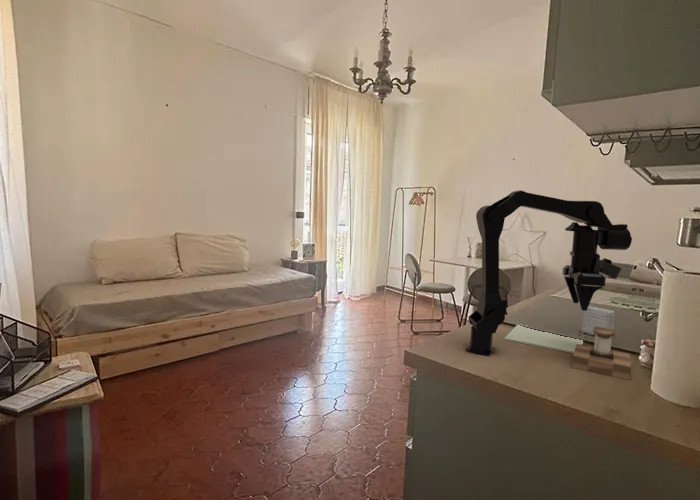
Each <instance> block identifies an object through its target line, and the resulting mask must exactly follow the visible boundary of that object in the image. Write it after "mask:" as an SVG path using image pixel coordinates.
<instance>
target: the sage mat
mask: <svg viewBox="0 0 700 500" xmlns="http://www.w3.org/2000/svg"><path fill="white" fill-rule="evenodd" d="M520 325H521V324H520ZM520 325H518V324H516V325H515V327H514V328H513V329H512V330H510V332H509V333H507V335H506V336H505V337H504V338H503V340H504V341H510V342H515V343H519V344H524V345H525V344H526V345H530V346H536V347H540V348H546V349H552V350H557V351H560V352H567V353H570V354H571V353H572V354H574V351H575V348H576V344H580V345H584V342H583V340H579V339H574V338H570V337H564V336H560V335H556V334H552V333H548V332H542V331H538V330H534V329H530V328H526V327H523V326H520Z"/></svg>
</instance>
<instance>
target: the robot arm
mask: <svg viewBox="0 0 700 500" xmlns="http://www.w3.org/2000/svg"><path fill="white" fill-rule="evenodd" d="M521 207H523V208H528V209H532V210H537V211H543V212H548V213H552V214H557V215H560V216H563V217H564V218H566V219H568V220H570V221H572V222H571V224H570V225H568V226H567V227H565V228H564V230H565V232H566V231H567V232H573V234H572V235H573V236H572V237H573V238H572V246H571V247H572V248H571V249H572V250H571V251H569V255H570V256H571V259H570V265H569V264H567V265H565V266H564V267H562V275H563V278H564V282H565V284H566V286H567V288H568V291H569V294H570V297H571V299H572V302H573V304H579V306H580V309H581V311H583V310H584V311H586V310H587V308H588V307H589V306H590V303H591V302H592V300H593V299H592V298H593V296H594V293H595V292H598V290H601V289H603V287H606V277H605V276H604V275H606V276H608V277H610V278H611V279H615V280H616V279H618V277H619V274H620V273H621V271H622V269H623V268H622V267H620V266H617V265H614V264H613V262H612V260H611V259H608V258H605V257H604V258H602V259H601V255H600V254H599V253H598V247H599V248H600V249H601V250H612V251H613V250H614V251H617V250H619V251H626V250H628V249H629V248H630V247H631V244H632V240H633V238H632V236H631V232H630V230H629V229H628V224H625V223H617V224H613V222H611V220H610V219H609V218H608V216H607V214H606V213H605V208H604V205H603V204H602V203H601V202H599V201H595V200H565V199H561V198H555V197H552V196H546V195H541V194H537V193H532V192H526V191H524V190H514V191H512V192H510V193H509V194H508V195H506V196H505V197H502V198H500V199H499V200H497V201H495V202H493V203H492V204H490V205H483V206H482V207H480V208H479V209H478V210H477V212H476V215H475V217H476V222H477V223H476V224H477V229H478V232H479V234H480V238H481V292H480V295H479V297H478V303H477V306H476V309H475V310H474V312H472V313H471V314H470V315H469V316H468V317H467V318H468V322H469V325H471V327H470V337H469V338H470V341H469V345H468V346H467V347H466V348H465V351H466V352H470V353H475V354H478V355H484V356H489V357H490V356H491V355H492V354H493V352H495V350H496V347H493V338H494V337H493V335H494V334H495V333H496V332H497V330H498V328H499V326H500V325H501V324H502V323H504V322H505V318H506V316H508V315H509V314H508V311H507V308H508V307H507V306H508V300H507V299H506V298H505V297H503V296H502V295H501V294H500V238H501V235H502V232H503V229H504V225H505V219H506V218H507V217H509V216H510V215H512V214H513V213H514V212H515V211H517V210H518V209H519V208H521ZM579 223H580V224H579ZM582 224H584V225H582ZM593 228H597V229H593ZM603 274H604V275H603Z"/></svg>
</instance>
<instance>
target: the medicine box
mask: <svg viewBox="0 0 700 500" xmlns="http://www.w3.org/2000/svg"><path fill="white" fill-rule="evenodd" d="M615 313H616V311H614V310H610V309H605V308H600V307H596V306H590V305H589V306H588V308H587V310H586V311H584V310H582V317H581V328H580V329H581V330H580V332H581V331H584V332H588V333H592V334H595V333H593V329H594V328H595V327H602V328H608V329H612V330H614V327H615V326H614V324H615Z"/></svg>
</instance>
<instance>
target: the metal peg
mask: <svg viewBox="0 0 700 500" xmlns="http://www.w3.org/2000/svg"><path fill="white" fill-rule="evenodd" d="M593 333H595V334H596V335H595V336H594V346H593V347H594V355H593V356H596V357H601V358H606V359H610V350H611V348H612V347H611V346H612V340H613V339H612V338H613V337H615V336H616V335H615V334H616V331H615V330H614V329H613V330H612V329H608V328H602V327H595V328H594V329H593ZM612 336H613V337H612Z"/></svg>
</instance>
